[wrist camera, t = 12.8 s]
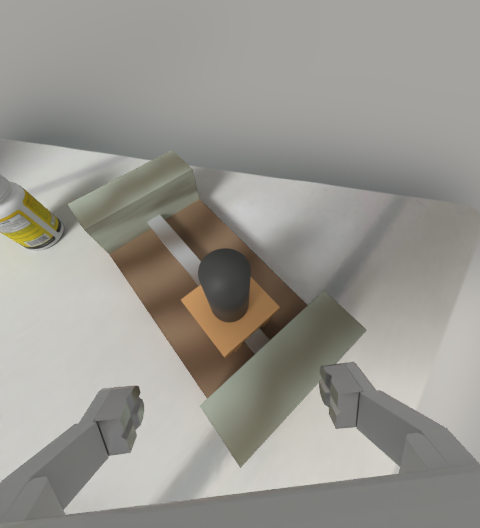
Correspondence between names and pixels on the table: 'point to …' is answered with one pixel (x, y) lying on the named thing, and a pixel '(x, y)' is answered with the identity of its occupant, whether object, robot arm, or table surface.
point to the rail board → (186, 280)
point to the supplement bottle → (26, 218)
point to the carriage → (228, 300)
